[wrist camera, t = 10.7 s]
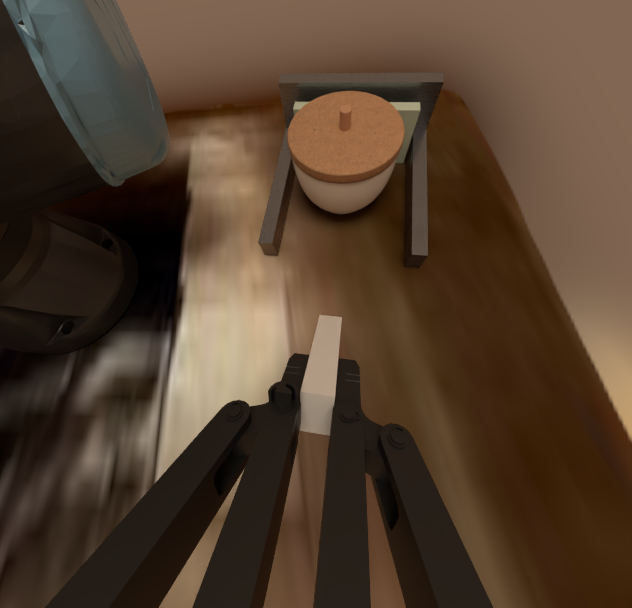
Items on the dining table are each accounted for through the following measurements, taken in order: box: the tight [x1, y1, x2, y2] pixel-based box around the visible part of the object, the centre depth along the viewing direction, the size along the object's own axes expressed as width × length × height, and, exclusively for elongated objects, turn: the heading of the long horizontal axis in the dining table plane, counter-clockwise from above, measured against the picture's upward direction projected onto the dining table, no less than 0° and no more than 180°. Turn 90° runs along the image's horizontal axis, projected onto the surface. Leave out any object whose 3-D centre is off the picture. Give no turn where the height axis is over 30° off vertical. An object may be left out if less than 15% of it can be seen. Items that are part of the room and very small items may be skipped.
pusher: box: [293, 102, 420, 163], centre depth 27 cm, size 13×1×6 cm, turn 83°
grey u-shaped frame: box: [258, 72, 444, 268], centre depth 25 cm, size 17×18×7 cm
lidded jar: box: [287, 91, 405, 214], centre depth 24 cm, size 11×11×9 cm
